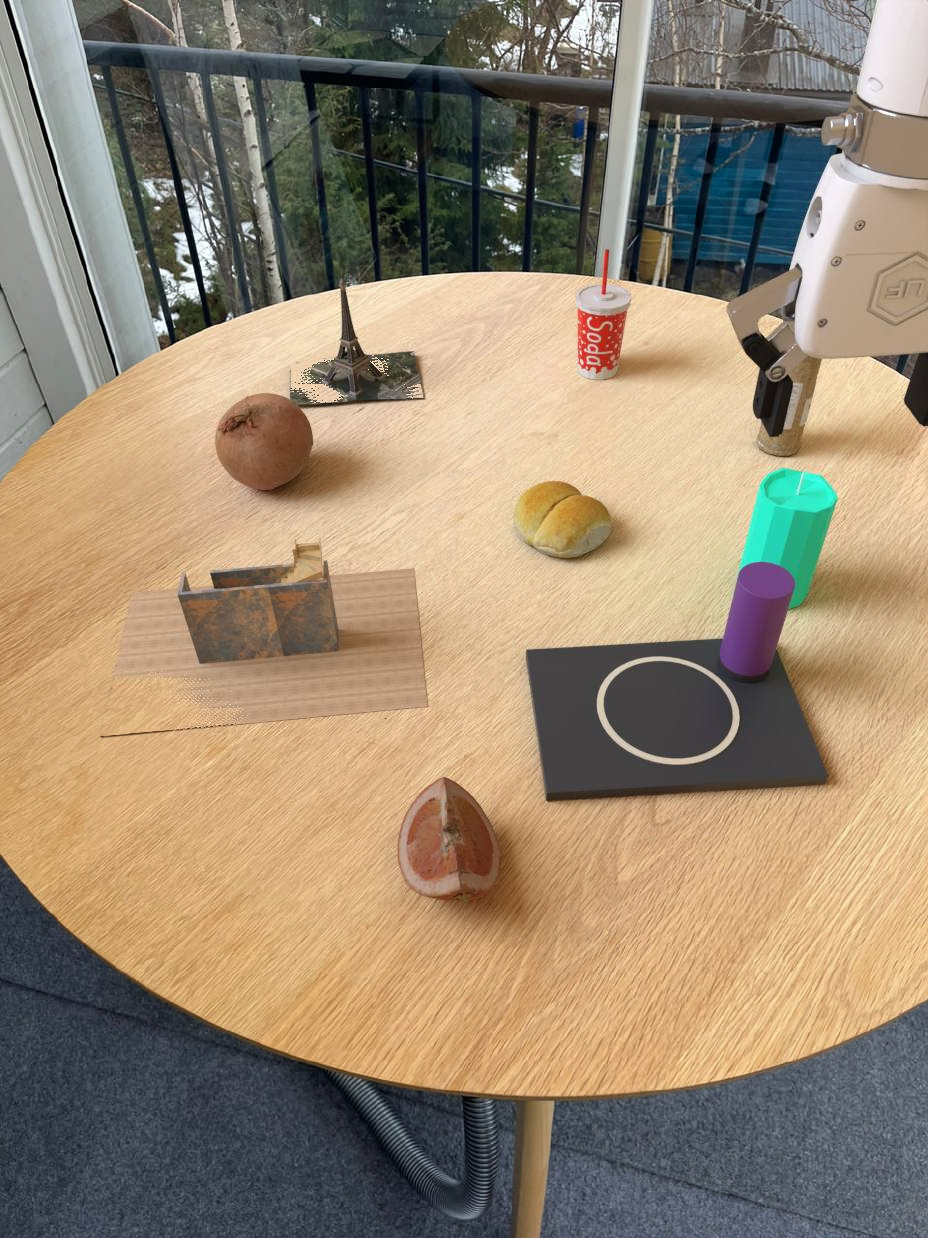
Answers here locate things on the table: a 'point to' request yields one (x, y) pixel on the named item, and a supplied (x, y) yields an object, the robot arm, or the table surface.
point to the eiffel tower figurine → (361, 369)
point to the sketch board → (664, 722)
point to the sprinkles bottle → (793, 411)
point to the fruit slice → (448, 845)
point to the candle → (790, 525)
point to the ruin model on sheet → (283, 640)
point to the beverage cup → (601, 326)
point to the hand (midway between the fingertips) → (843, 419)
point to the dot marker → (755, 621)
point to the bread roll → (561, 520)
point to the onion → (264, 441)
